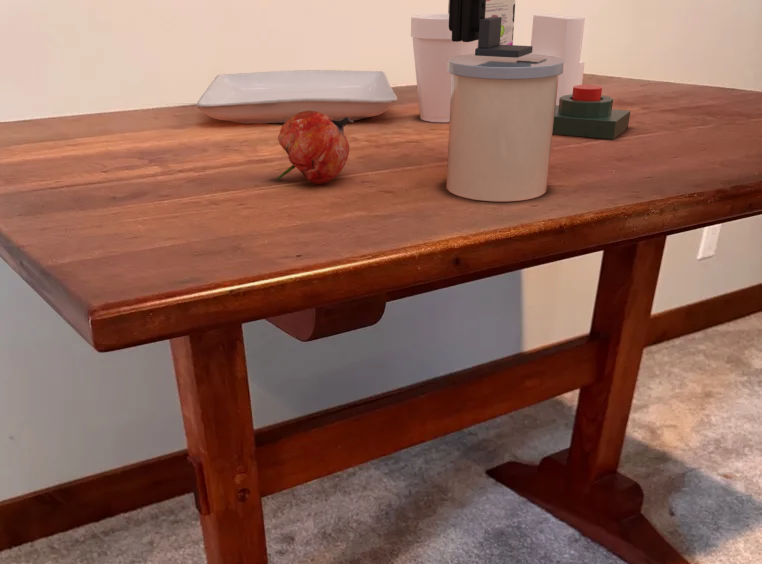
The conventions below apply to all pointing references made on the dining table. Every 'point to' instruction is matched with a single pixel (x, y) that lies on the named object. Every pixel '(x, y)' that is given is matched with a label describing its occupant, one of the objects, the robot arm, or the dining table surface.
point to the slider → (496, 41)
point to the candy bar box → (502, 5)
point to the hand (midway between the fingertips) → (465, 40)
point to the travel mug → (501, 125)
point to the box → (589, 118)
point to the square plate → (296, 95)
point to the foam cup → (435, 63)
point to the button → (587, 92)
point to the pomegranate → (315, 145)
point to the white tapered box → (560, 47)
